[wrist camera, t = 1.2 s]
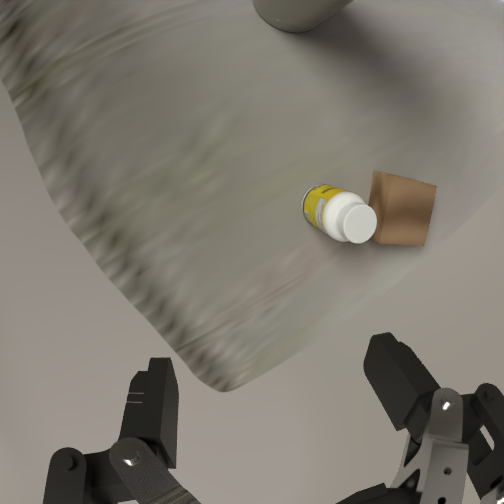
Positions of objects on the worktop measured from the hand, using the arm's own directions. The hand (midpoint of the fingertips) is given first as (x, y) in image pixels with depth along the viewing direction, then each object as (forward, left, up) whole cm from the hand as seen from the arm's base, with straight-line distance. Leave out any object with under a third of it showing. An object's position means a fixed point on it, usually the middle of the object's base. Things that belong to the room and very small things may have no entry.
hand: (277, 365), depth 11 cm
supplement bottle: (-2, +13, -25) cm, 29 cm away
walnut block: (-3, +25, -25) cm, 36 cm away
